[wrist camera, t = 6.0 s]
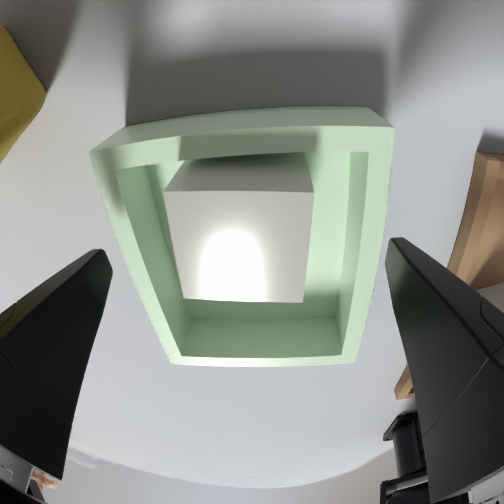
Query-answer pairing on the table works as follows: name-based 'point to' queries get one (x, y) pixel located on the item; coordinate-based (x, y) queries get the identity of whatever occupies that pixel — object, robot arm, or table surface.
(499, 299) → the white small cube
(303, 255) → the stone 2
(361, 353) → the table surface
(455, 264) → the walnut tray
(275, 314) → the green bin
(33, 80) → the flower pot
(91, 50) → the table surface
